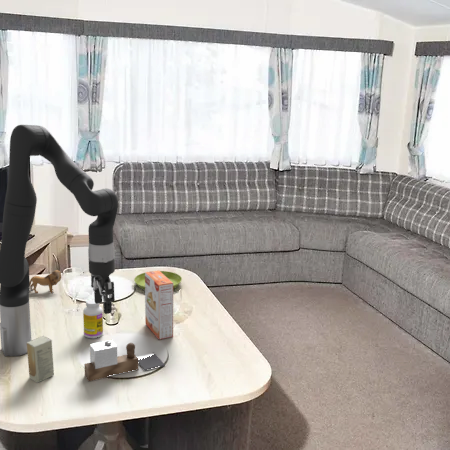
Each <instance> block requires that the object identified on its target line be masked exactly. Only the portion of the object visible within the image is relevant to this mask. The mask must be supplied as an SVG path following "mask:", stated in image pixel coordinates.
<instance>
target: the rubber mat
mask: <svg viewBox="0 0 450 450" xmlns="http://www.w3.org/2000/svg"><path fill="white" fill-rule="evenodd" d="M158 356H159V355H157V354H156V353H155V354H154V355H152V356H151V357H150V356H149V357H147V358H145V359H144V358H143V359H142V360H141V359H140V360H138V362H139V364H140V365H141V366H142V367H141V366H140V365H139V364H138V365H139V366H140V367H141V369H142V368H143V369H144V370H146V371H148V370H147V369H151V368H155V367H158V366H161V367H160V368H163V367H165V366H166V364H165V362H163V361H162V359H161V358H160V357H158ZM143 369H142V370H143ZM155 369H156V368H155ZM144 370H143V371H144ZM151 370H152V369H151Z"/></svg>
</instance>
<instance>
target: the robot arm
mask: <svg viewBox="0 0 450 450" xmlns="http://www.w3.org/2000/svg"><path fill="white" fill-rule="evenodd" d="M9 139H10V140H9V162H8V163H9V165H8V177H7V187H6V193H5V198H4V207H3V216H2V217H3V218H2V226H1V227H2V229H1V244H0V346H1V347H0V349H1V351H2V354H3V356H4V357H7V356H9V357H10V356H11V357H18V356H23V355H26V354H28V353H27V342H29V341H32V340H33V339H32V326H31V324H32V323H31V310H30V309H31V308H30V306H31V305H30V291H31V290H30V286H31V285H30V280H31V279H30V265H29V262H28V259H27V257H25V256H26V248H27V243H28V239H29V237H30V235H31V234H30V233H31V232H32V227H33V224H34V219H35V215H36V208H37V201H38V198H37V193H36V191H35V187H34V185H33V183H32V181H31V178H30V173H29V167H30V159H31V157H35V156H37V157H38V156H40V157H42V158H44V159H46V160H47V161H48V162H49V163H51V165H52V166H53V168H54V173H55V176H56V177H57V180H58V181H59V182H60V183H61V184H62V185H63V187H65V188H66V189H67V190H68V191H69V193H71V194H72V195H73V196H74V198H75V199H76V202H77V203H78V205H79V206H80V208H81V210H82V211H83V212H84V214H86V215H88V216H91V217H96V219H95V220H94V221H92V222H91V223H90V224H89V225H88V249H87V250H88V251H87V252H88V253H87V254H88V256H87V257H88V272H89V273H90V281H91V282H90V287H91V288H93V289H92V290H93V292H94V293H93V295H94V296H93V297H94V298H93V299H95V303H96V304H97V303H100V304H101V303H103V314H105V315H108V314H111V313H112V311H113V310H112V309H113V307H112V306H113V305H112V303H113V302H115V300H116V299H115V298H116V297H115V283H114V281H112V280H111V278H110V276H111V274H114V273H115V271H116V265H115V264H116V263H115V262H116V261H115V260H116V259H115V256H116V254H115V244H114V225H115V222H116V217H117V214H118V209H119V208H118V207H119V199H118V196H117V193H115V191H114V190H112V189H111V188H102V189H97V190H93V189H94V187H95V186H94V185H95V183H94V180H93V178H92V177H91V176H90V175H88V173H87V172H86V171H84V170H83V169H82V168H81V167H80V166H78V164H77V163H75V162H74V161H73V159H72V158H71V157H70V156H69V155H68V154H67V152H66V151H65V150H64V149H63V147H62V146H61V145H60V144H59V142H58V141H57V140H56V138H55V137H54V136H53V134H52V133H51V132H50V131H49V130H48V129H47V128H46V127H44V126H43V125H36V124H34V125H33V124H18V125H17V126H15V127H14V128H13V129H12V132H11V134H10V138H9Z"/></svg>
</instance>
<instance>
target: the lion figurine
mask: <svg viewBox="0 0 450 450" xmlns="http://www.w3.org/2000/svg"><path fill="white" fill-rule="evenodd" d="M29 280H30V291H34V294H39V291H37V286H38V284H39V285H40V286H44V287H47V286H48V288H49V289H48V290H49V293H50V292H51V293H50V294H53V293H54V289H53V287H54V286H56V285H58V283H59V282H60V281H61V280H62V272H61V271H60V270H58V269H56V270H53V271H52V272H51V273H49V274H48V275H46V276H38V275H35V276H32V277H31V278H30V279H29ZM52 290H53V291H52ZM52 292H53V293H52Z"/></svg>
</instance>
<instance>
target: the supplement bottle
mask: <svg viewBox="0 0 450 450" xmlns="http://www.w3.org/2000/svg"><path fill="white" fill-rule="evenodd" d="M100 304H101V303H97V304H96V303H95V298H90V299H87V300H86V301H85V306H86V307H84V309H83V310H82V314H83V318H82V319H83V335H84V337H85V338H88V339H98V338H100V337H102V336H103V334H104V319H103V317H104V315H103V314H104V309H103V307H101V306H100ZM97 337H98V338H97Z"/></svg>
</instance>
